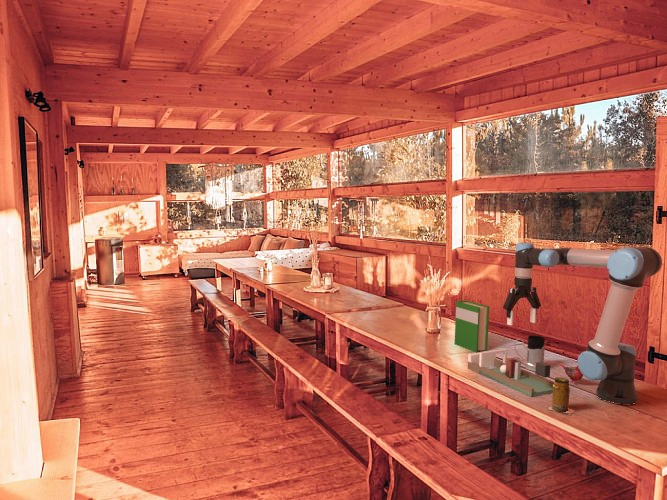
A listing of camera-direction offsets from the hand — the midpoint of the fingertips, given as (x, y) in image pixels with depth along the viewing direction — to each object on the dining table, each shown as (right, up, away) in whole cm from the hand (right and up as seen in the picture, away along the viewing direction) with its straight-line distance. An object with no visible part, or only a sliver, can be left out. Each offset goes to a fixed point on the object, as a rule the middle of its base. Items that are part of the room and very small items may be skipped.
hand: (521, 323), depth 250 cm
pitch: (-6, -25, -2) cm, 26 cm away
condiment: (+3, -29, -37) cm, 47 cm away
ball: (-7, -21, +1) cm, 22 cm away
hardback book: (-11, -20, +49) cm, 54 cm away
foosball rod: (-1, -24, -12) cm, 27 cm away
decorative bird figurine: (+21, -26, -4) cm, 33 cm away
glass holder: (+9, -23, +16) cm, 30 cm away
